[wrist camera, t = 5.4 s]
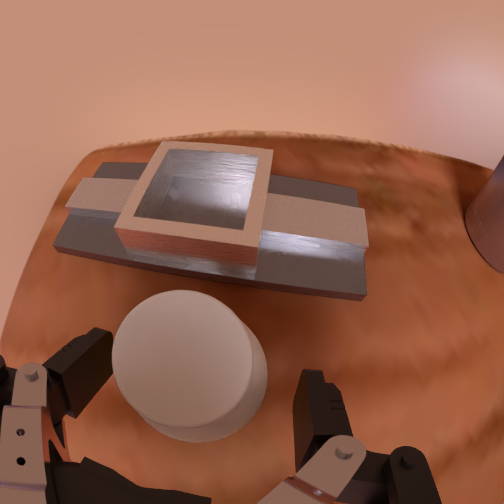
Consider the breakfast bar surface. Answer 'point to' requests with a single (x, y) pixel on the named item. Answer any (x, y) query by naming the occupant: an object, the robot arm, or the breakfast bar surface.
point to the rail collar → (221, 221)
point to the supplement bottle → (189, 366)
